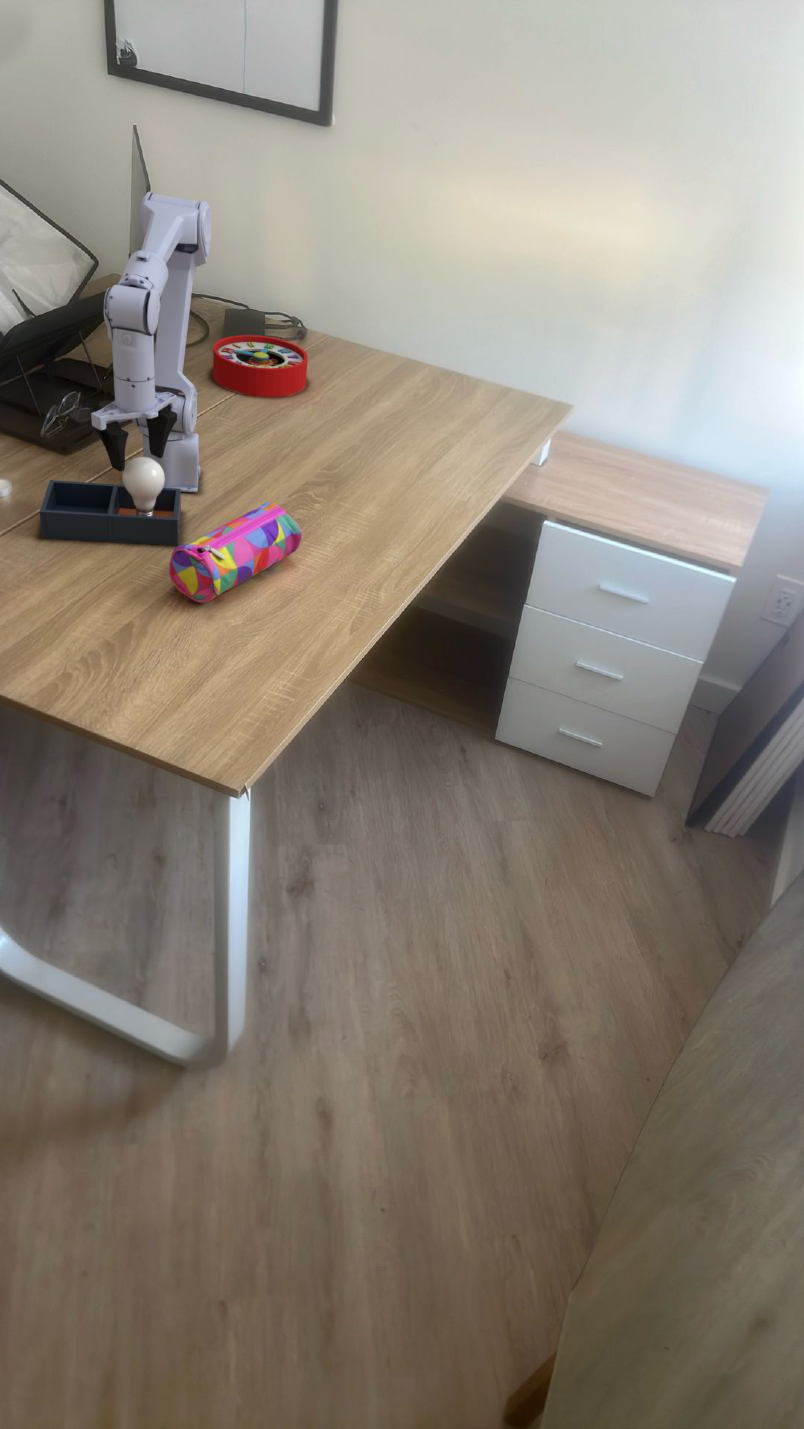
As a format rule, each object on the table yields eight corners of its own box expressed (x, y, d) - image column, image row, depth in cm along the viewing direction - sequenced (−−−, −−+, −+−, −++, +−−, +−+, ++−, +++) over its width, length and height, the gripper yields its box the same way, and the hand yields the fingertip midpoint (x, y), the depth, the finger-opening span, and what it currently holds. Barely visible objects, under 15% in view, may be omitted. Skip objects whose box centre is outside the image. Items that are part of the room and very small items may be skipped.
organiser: (180, 513, 156) (180, 488, 153) (177, 545, 148) (177, 520, 145) (52, 505, 152) (49, 479, 149) (42, 538, 144) (39, 511, 141)
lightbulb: (173, 520, 152) (172, 456, 145) (153, 537, 147) (151, 471, 140) (137, 509, 153) (134, 445, 146) (116, 526, 148) (113, 460, 141)
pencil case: (212, 618, 134) (213, 563, 128) (162, 593, 137) (161, 538, 131) (303, 562, 149) (308, 510, 144) (256, 540, 152) (259, 489, 147)
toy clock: (296, 376, 194) (200, 358, 194) (294, 404, 197) (200, 386, 198) (316, 346, 209) (228, 329, 209) (314, 372, 213) (227, 355, 213)
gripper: (112, 394, 130) (117, 485, 139) (191, 373, 140) (191, 459, 148) (79, 377, 133) (85, 467, 141) (158, 358, 143) (160, 443, 151)
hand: (137, 462), depth 145 cm, fingers open, 7 cm apart
